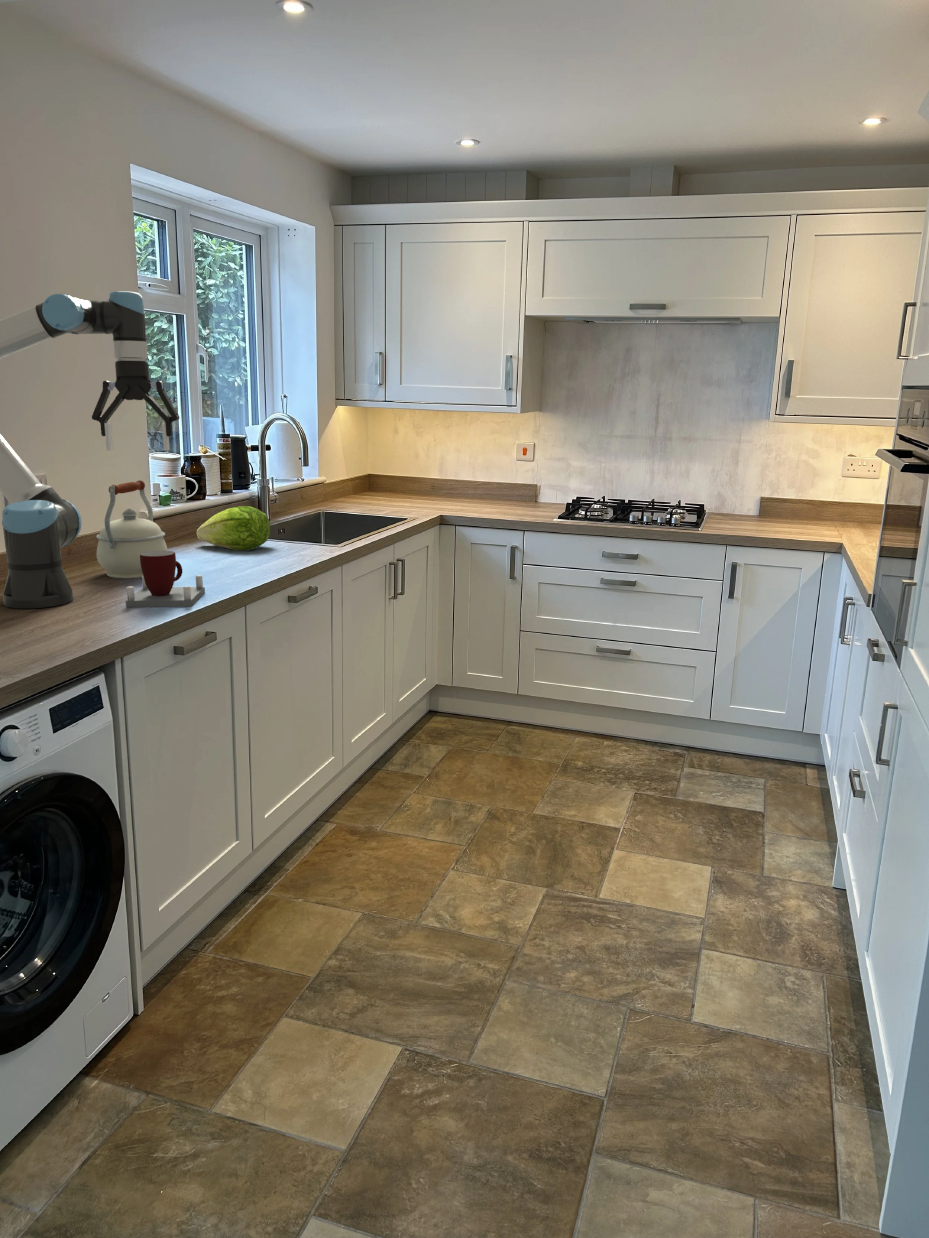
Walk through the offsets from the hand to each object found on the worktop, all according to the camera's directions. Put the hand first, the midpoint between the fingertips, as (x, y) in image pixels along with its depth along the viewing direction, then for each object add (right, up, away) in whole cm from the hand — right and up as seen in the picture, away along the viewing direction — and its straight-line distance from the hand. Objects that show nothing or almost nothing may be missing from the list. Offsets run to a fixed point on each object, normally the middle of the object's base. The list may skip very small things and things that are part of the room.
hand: (138, 450), depth 227 cm
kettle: (-11, -29, +29) cm, 42 cm away
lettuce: (+6, -19, +70) cm, 73 cm away
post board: (+8, -37, -3) cm, 38 cm away
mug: (+8, -35, -4) cm, 36 cm away
